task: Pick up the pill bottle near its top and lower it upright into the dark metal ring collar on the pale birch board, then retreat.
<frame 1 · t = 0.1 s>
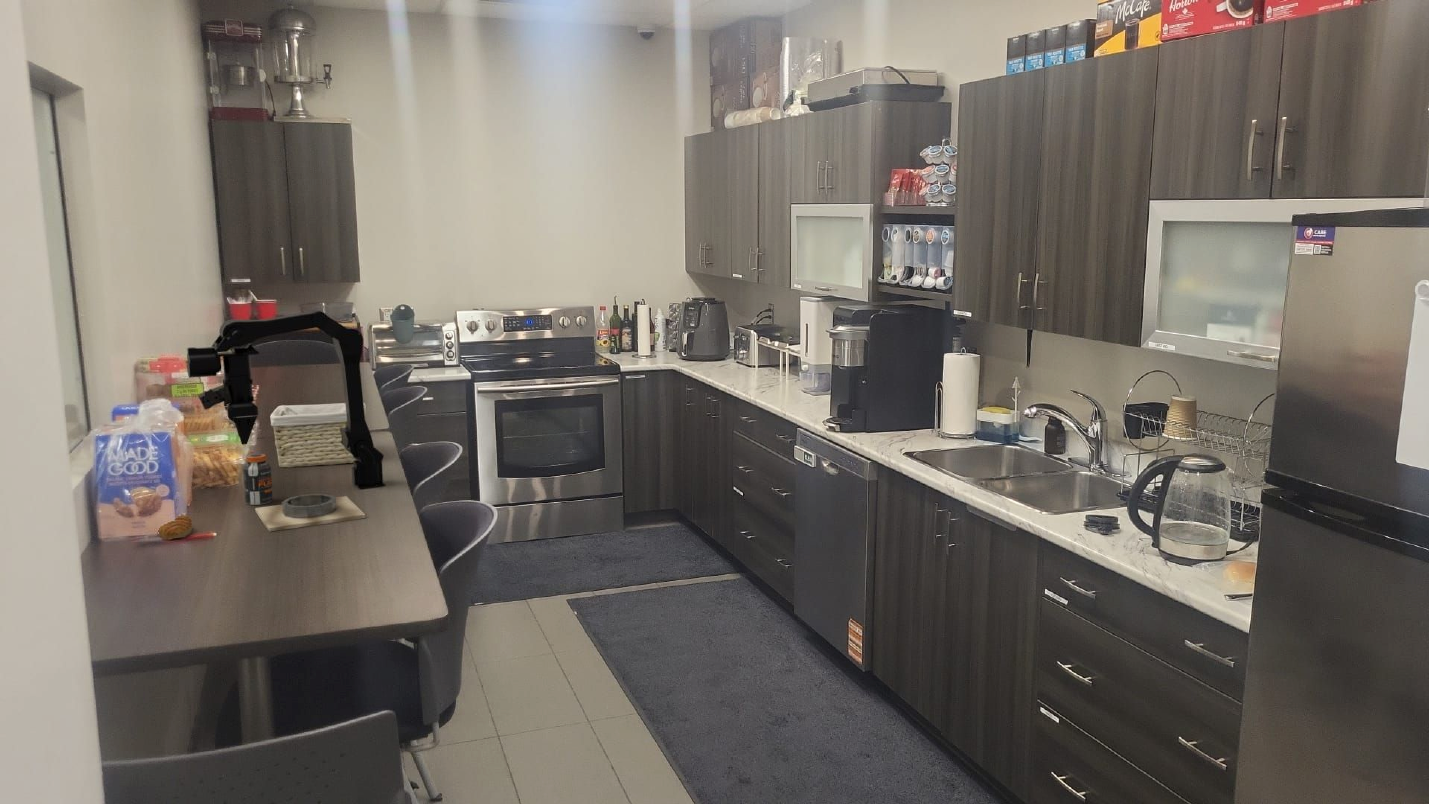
hand: (242, 440, 242), 14 cm above the table, fingers open, 9 cm apart
storage basket: (322, 461, 286), on the table
pill bottle: (259, 503, 244), on the table
pastry: (176, 535, 220), on the table
ring holder: (310, 514, 234), on the table
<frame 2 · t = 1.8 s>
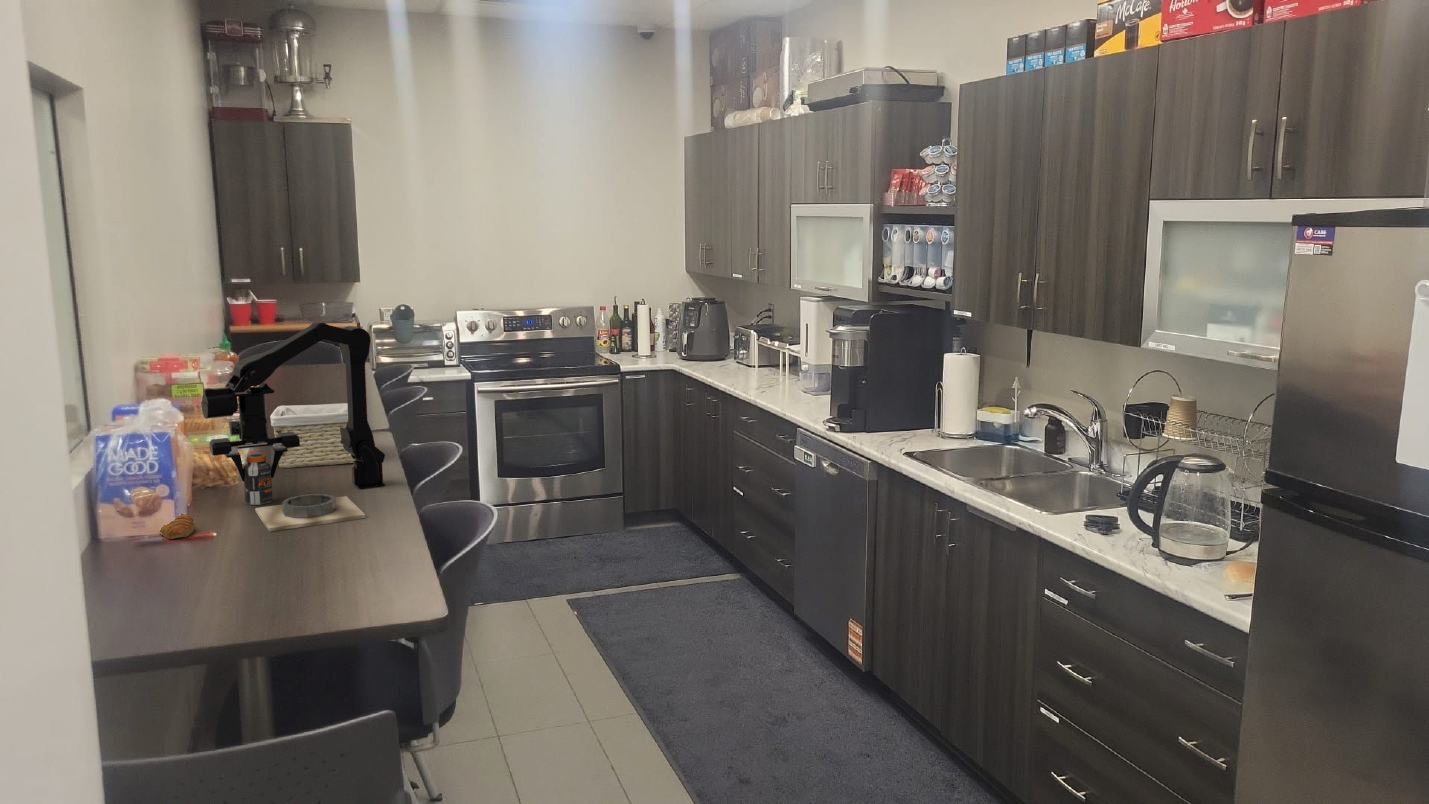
hand: (257, 479, 243), 6 cm above the table, fingers closed on pill bottle, 6 cm apart
pill bottle: (259, 502, 244), on the table, touching gripper
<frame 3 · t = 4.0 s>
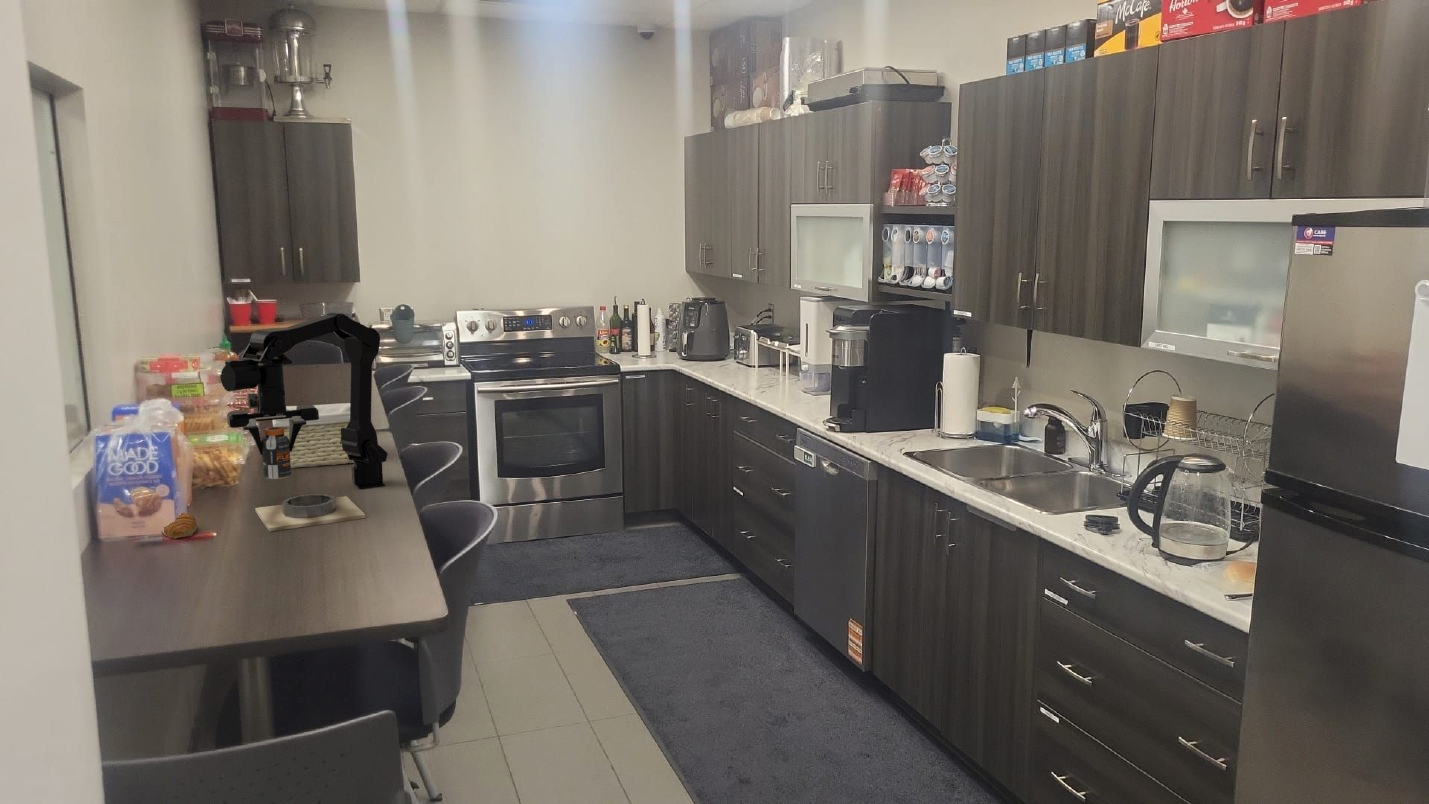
hand: (276, 452, 237), 13 cm above the table, fingers closed on pill bottle, 6 cm apart
pill bottle: (277, 477, 238), point 7 cm above the table, touching gripper
when the fingers open (7 cm above the table, at t = 6.6 s): pill bottle drops 1 cm, resting on ring holder.
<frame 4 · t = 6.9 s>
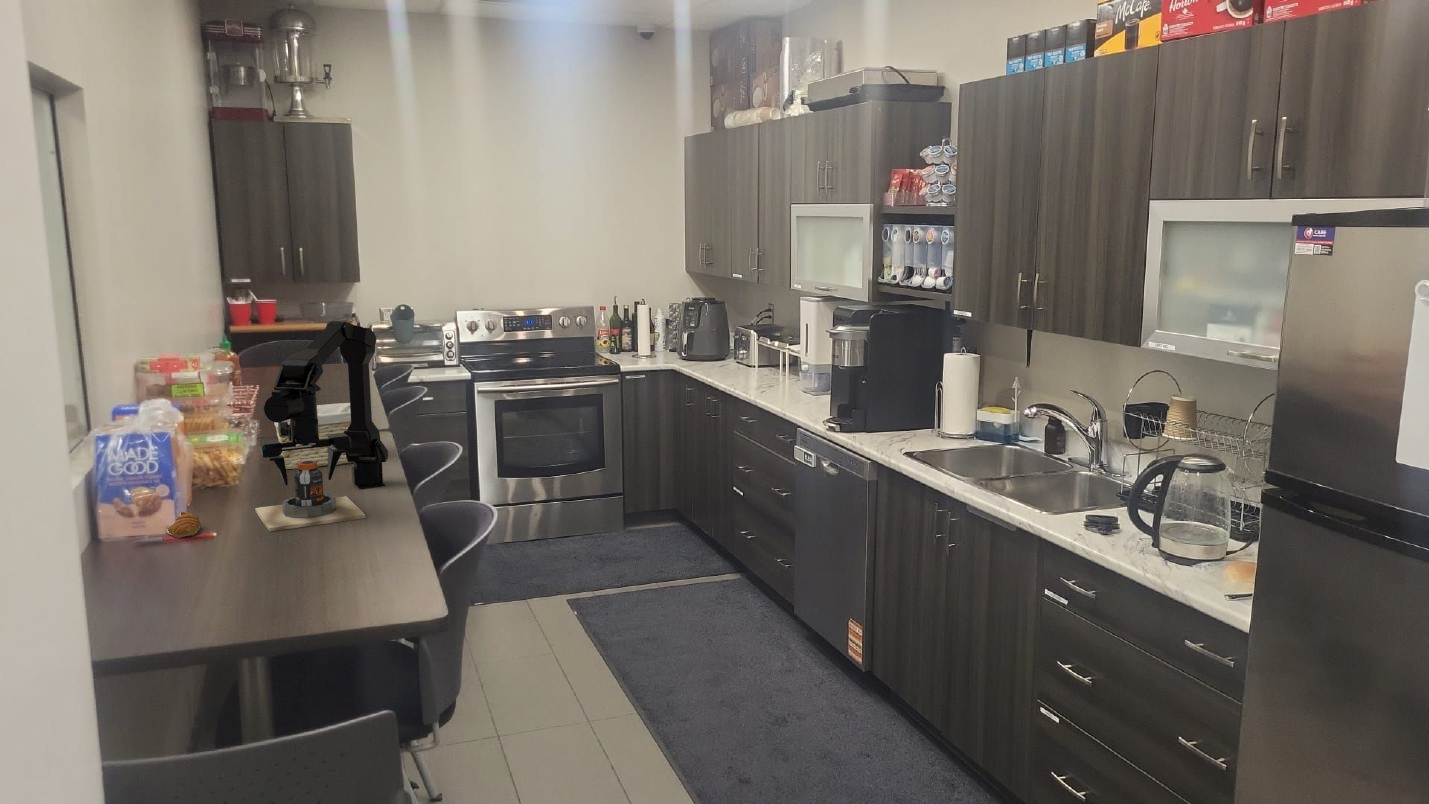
hand: (308, 482, 233), 7 cm above the table, fingers open, 9 cm apart
pill bottle: (310, 511, 234), point 1 cm above the table, touching ring holder
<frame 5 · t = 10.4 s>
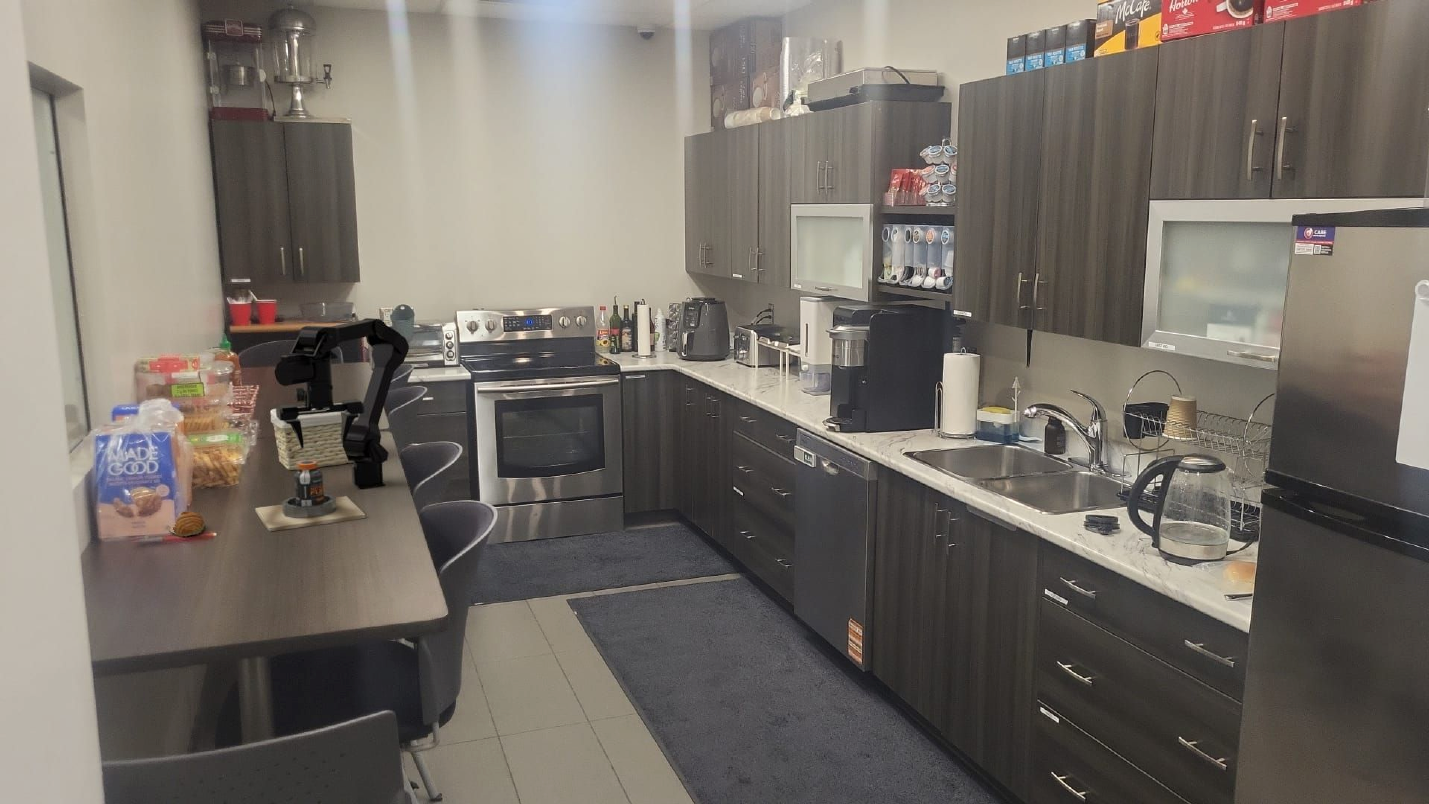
hand: (322, 445, 245), 13 cm above the table, fingers open, 9 cm apart
at the end: pill bottle 0.2 cm off-centre on the ring holder, point 0.6 cm above the ring holder's base; pill bottle tilted 0°; the gripper is holding nothing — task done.
